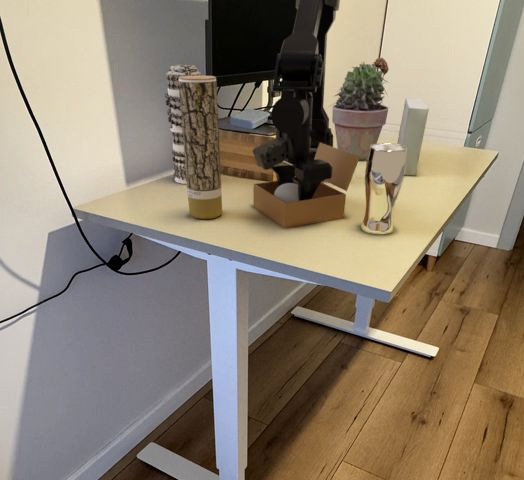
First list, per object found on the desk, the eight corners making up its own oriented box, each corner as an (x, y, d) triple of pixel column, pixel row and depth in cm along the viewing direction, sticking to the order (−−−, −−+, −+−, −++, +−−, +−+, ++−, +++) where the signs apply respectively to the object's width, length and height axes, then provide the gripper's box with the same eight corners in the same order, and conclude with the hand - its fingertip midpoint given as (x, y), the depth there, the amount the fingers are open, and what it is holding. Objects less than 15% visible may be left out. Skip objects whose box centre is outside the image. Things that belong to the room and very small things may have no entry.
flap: (319, 142, 106) (320, 142, 106) (309, 173, 108) (310, 173, 108) (358, 156, 95) (360, 156, 95) (345, 190, 97) (346, 191, 98)
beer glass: (356, 222, 98) (365, 142, 90) (391, 223, 98) (404, 142, 90) (361, 235, 92) (371, 150, 84) (398, 235, 92) (412, 151, 84)
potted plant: (310, 159, 142) (315, 59, 128) (341, 147, 156) (349, 55, 142) (367, 168, 134) (379, 62, 120) (395, 154, 147) (409, 58, 133)
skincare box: (417, 176, 127) (429, 108, 118) (396, 175, 128) (406, 107, 119) (413, 157, 144) (423, 97, 135) (394, 156, 145) (403, 96, 136)
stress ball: (309, 227, 104) (319, 196, 104) (296, 214, 97) (307, 182, 97) (278, 219, 107) (288, 190, 107) (263, 207, 100) (274, 175, 100)
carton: (253, 206, 106) (253, 183, 104) (308, 198, 111) (309, 176, 109) (284, 227, 96) (285, 203, 93) (343, 217, 100) (346, 194, 98)
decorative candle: (169, 176, 126) (157, 64, 112) (204, 173, 129) (197, 63, 115) (177, 186, 119) (166, 67, 105) (214, 182, 122) (208, 66, 108)
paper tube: (209, 222, 98) (200, 79, 84) (182, 216, 101) (170, 77, 87) (228, 213, 103) (223, 76, 89) (203, 207, 106) (194, 74, 92)
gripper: (238, 119, 98) (240, 198, 106) (281, 135, 84) (279, 225, 92) (287, 115, 102) (285, 191, 110) (337, 130, 88) (330, 216, 96)
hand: (293, 205), depth 102 cm, fingers closed on stress ball, 7 cm apart
